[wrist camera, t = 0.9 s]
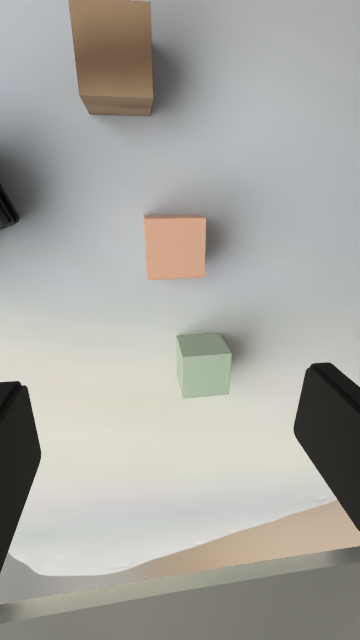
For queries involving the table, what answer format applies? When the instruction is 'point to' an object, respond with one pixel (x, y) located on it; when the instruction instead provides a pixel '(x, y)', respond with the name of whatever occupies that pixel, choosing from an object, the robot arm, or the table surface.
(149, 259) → the terracotta block
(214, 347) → the sage block
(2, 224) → the black claw piece
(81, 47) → the walnut block
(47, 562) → the table surface
